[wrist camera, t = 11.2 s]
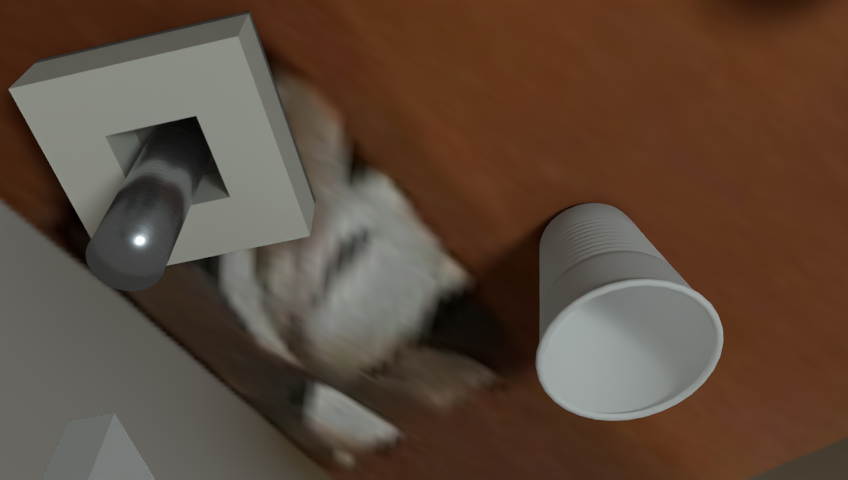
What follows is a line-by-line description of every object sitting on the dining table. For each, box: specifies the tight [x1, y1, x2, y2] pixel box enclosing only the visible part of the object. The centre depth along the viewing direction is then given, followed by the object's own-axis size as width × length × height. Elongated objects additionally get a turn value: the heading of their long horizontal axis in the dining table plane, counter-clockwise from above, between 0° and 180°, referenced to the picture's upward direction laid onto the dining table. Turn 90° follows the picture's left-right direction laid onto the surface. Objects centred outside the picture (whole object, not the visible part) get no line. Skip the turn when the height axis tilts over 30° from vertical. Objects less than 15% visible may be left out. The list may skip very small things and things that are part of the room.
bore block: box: [9, 11, 315, 265], centre depth 43 cm, size 12×12×4 cm
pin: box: [86, 116, 212, 291], centre depth 40 cm, size 3×3×12 cm
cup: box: [536, 203, 723, 421], centre depth 46 cm, size 10×10×11 cm
